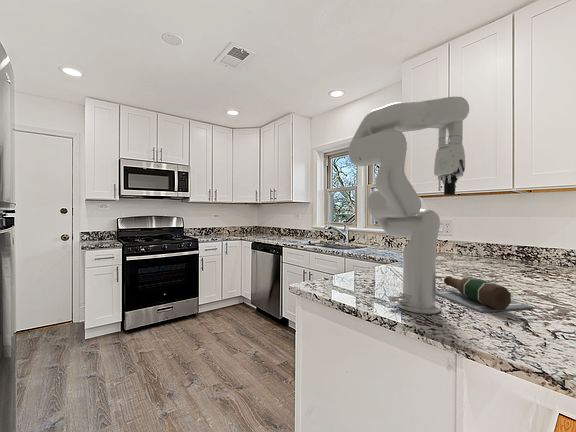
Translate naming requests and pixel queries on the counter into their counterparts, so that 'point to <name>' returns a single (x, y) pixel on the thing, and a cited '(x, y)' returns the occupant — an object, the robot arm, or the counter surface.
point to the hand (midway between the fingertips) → (449, 194)
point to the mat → (460, 299)
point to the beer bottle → (481, 292)
